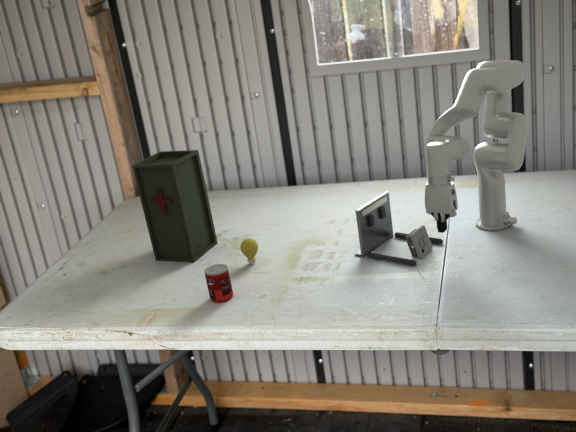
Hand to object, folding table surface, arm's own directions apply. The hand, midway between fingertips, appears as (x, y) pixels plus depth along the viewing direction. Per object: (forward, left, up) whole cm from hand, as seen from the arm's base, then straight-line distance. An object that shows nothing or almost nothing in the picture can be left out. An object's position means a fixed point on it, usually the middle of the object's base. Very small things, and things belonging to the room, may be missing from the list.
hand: (442, 231), depth 222 cm
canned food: (+55, +54, -10) cm, 78 cm away
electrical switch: (+10, -1, -11) cm, 14 cm away
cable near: (+16, +9, -10) cm, 21 cm away
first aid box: (+99, +31, -10) cm, 104 cm away
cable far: (+16, -10, -10) cm, 22 cm away
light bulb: (+64, +29, -10) cm, 71 cm away
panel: (+27, -1, -10) cm, 29 cm away
